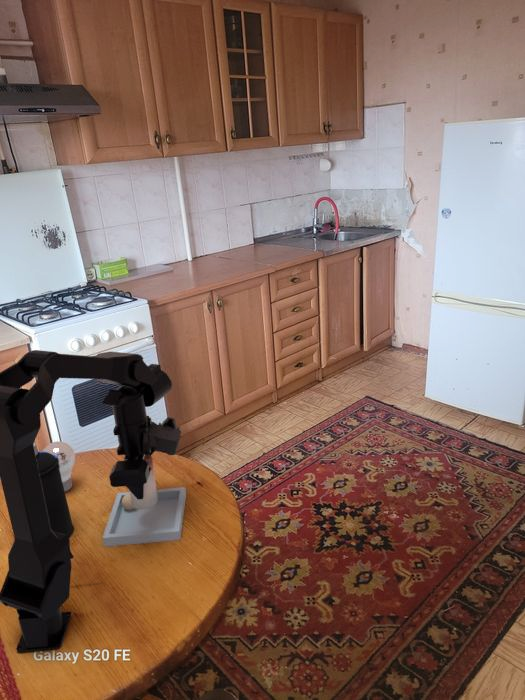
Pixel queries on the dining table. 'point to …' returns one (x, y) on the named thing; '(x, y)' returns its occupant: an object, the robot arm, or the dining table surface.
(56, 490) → the aerosol can
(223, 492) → the dining table surface
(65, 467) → the light bulb
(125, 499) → the cork ball
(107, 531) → the dish
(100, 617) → the dining table surface
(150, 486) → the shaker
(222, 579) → the dining table surface
